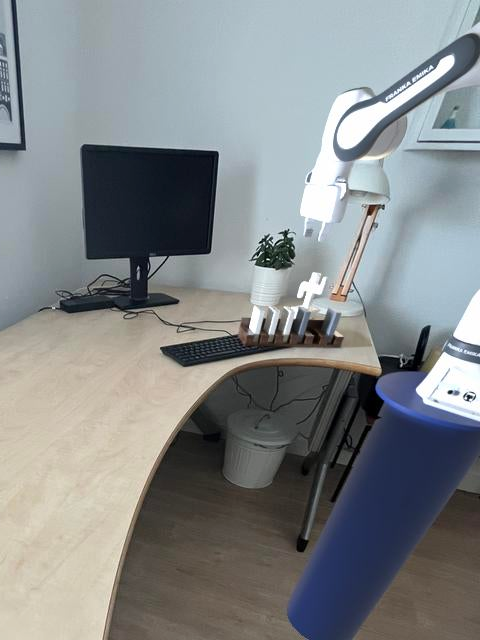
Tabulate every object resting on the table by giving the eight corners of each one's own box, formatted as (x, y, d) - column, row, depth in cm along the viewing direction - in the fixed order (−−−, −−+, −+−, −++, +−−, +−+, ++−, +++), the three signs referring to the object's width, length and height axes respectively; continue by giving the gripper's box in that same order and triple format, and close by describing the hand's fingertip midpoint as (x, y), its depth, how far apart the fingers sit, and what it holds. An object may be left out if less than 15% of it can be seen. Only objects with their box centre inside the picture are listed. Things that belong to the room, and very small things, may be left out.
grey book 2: (330, 343, 135) (341, 312, 129) (325, 343, 135) (336, 312, 129) (323, 336, 140) (333, 307, 134) (318, 336, 140) (328, 307, 134)
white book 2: (272, 342, 135) (280, 311, 129) (267, 342, 135) (275, 311, 129) (266, 335, 140) (274, 305, 134) (261, 335, 140) (269, 305, 134)
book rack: (340, 347, 134) (347, 328, 131) (244, 345, 134) (249, 326, 131) (328, 338, 141) (335, 319, 138) (237, 336, 141) (241, 317, 137)
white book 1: (257, 341, 135) (265, 311, 129) (252, 341, 135) (259, 311, 129) (252, 335, 140) (259, 305, 134) (247, 335, 140) (254, 305, 134)
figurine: (298, 314, 162) (312, 269, 152) (320, 320, 156) (335, 274, 146) (285, 316, 159) (298, 270, 149) (307, 323, 153) (322, 276, 143)
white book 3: (286, 342, 135) (295, 311, 129) (281, 342, 135) (290, 311, 129) (280, 336, 140) (289, 306, 134) (275, 335, 140) (284, 306, 134)
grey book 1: (301, 342, 135) (311, 312, 129) (296, 342, 135) (305, 311, 129) (294, 336, 140) (303, 306, 134) (289, 336, 140) (298, 306, 134)
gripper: (362, 177, 104) (341, 244, 112) (326, 175, 120) (310, 234, 128) (336, 177, 104) (317, 244, 112) (304, 175, 119) (289, 234, 128)
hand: (313, 239), depth 120 cm, fingers open, 8 cm apart
